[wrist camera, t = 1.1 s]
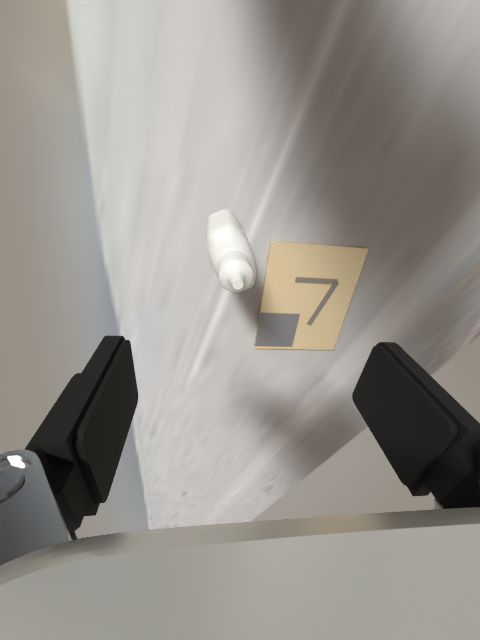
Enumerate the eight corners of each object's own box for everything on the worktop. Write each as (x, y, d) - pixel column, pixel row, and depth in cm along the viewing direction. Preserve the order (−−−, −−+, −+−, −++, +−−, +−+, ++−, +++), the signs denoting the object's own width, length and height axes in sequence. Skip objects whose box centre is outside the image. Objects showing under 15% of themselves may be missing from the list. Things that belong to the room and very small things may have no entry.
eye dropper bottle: (204, 261, 28) (199, 319, 17) (209, 205, 25) (207, 234, 15) (244, 266, 28) (262, 324, 18) (253, 212, 25) (281, 245, 15)
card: (270, 241, 27) (271, 242, 27) (367, 248, 28) (369, 249, 28) (254, 347, 34) (254, 349, 34) (332, 348, 36) (333, 350, 35)
